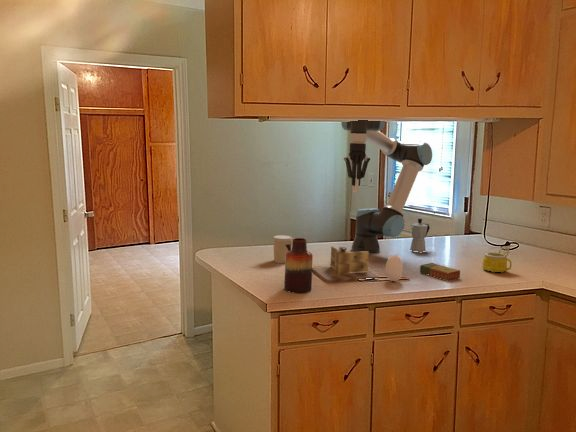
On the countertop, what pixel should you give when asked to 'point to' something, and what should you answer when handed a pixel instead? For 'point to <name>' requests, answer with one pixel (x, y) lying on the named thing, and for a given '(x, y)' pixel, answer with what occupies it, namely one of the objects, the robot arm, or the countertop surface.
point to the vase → (298, 267)
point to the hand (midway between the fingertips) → (355, 192)
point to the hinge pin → (342, 249)
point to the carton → (440, 271)
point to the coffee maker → (419, 236)
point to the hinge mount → (345, 267)
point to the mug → (496, 261)
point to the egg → (394, 268)
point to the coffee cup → (281, 247)
